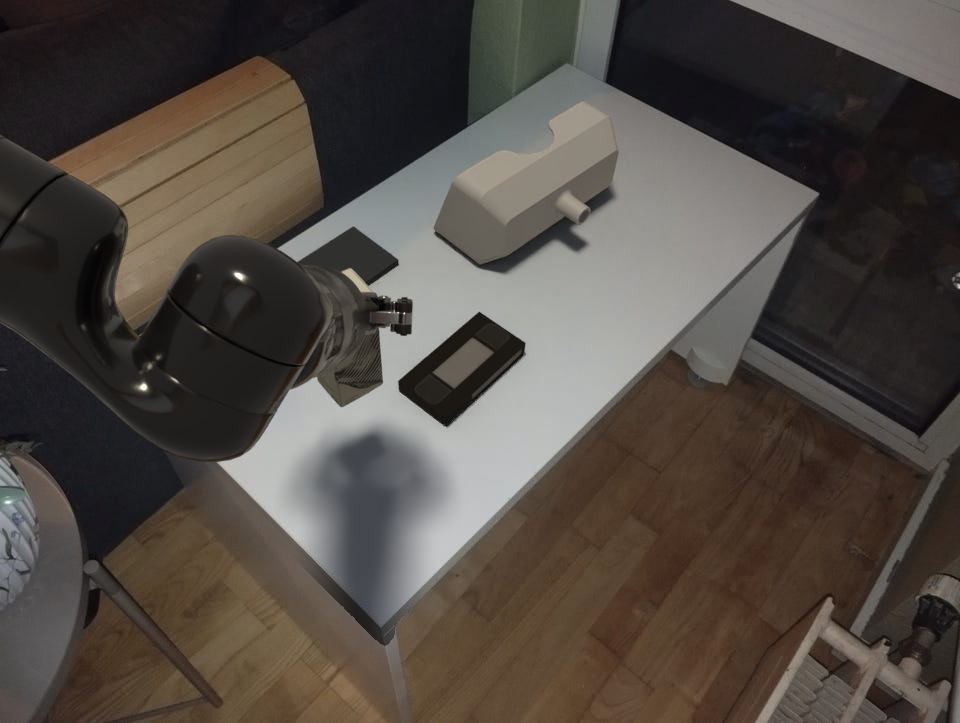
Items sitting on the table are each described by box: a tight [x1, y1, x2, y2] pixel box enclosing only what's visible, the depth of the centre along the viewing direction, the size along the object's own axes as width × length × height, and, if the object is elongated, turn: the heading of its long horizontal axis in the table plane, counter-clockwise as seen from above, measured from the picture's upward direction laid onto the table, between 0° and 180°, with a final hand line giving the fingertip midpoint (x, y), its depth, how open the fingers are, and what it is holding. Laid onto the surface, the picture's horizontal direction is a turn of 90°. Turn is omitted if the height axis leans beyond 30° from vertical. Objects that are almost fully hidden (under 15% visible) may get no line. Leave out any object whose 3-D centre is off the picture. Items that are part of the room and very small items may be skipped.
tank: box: [432, 100, 620, 265], centre depth 103 cm, size 25×16×12 cm, turn 134°
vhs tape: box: [397, 311, 526, 427], centre depth 91 cm, size 8×14×2 cm, turn 139°
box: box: [316, 268, 384, 408], centre depth 70 cm, size 5×4×13 cm
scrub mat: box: [297, 226, 400, 287], centre depth 99 cm, size 20×9×1 cm, turn 137°
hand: (344, 306), depth 69 cm, fingers closed on box, 6 cm apart
